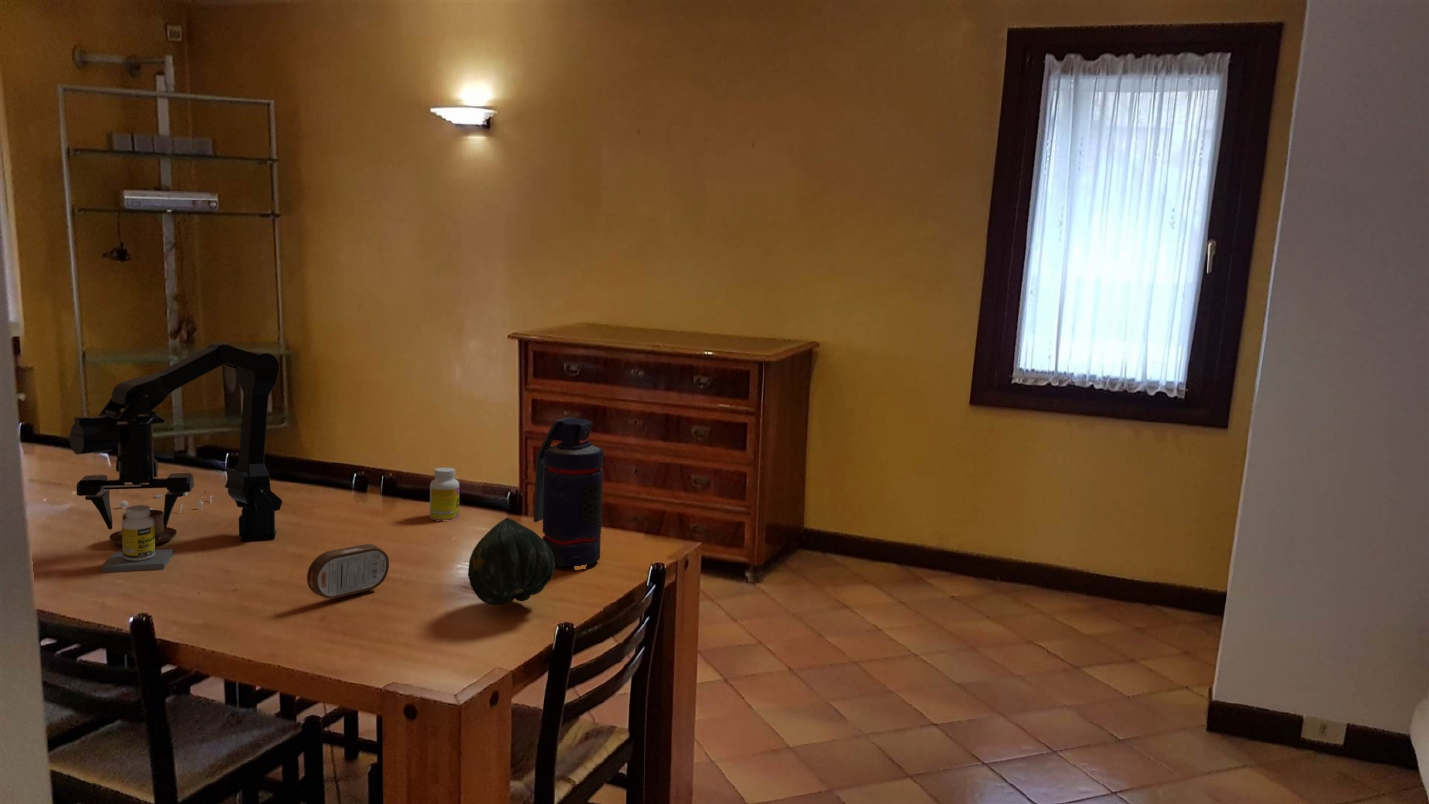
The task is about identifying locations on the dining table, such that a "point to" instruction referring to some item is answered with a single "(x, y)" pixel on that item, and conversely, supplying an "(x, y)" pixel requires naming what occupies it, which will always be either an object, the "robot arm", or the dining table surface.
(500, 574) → the squash
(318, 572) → the tin
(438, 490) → the supplement bottle
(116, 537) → the cup and saucer
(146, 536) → the supplement bottle
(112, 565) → the charcoal block
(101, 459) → the dining table surface
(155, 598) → the dining table surface
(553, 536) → the grenade
